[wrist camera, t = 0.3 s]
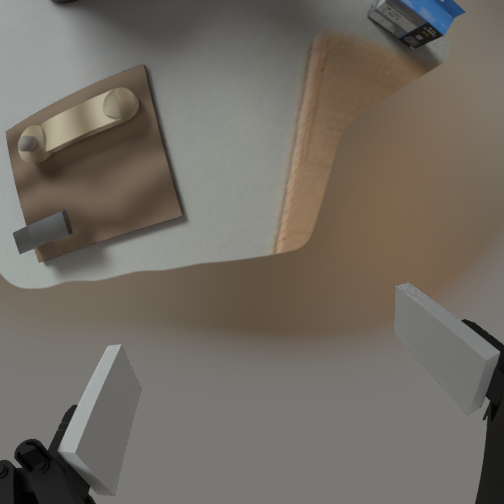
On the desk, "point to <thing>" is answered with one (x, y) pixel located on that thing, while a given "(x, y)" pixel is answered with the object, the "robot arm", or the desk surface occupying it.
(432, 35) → the ink cartridge box
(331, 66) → the desk surface
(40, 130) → the link
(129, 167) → the keeper board
